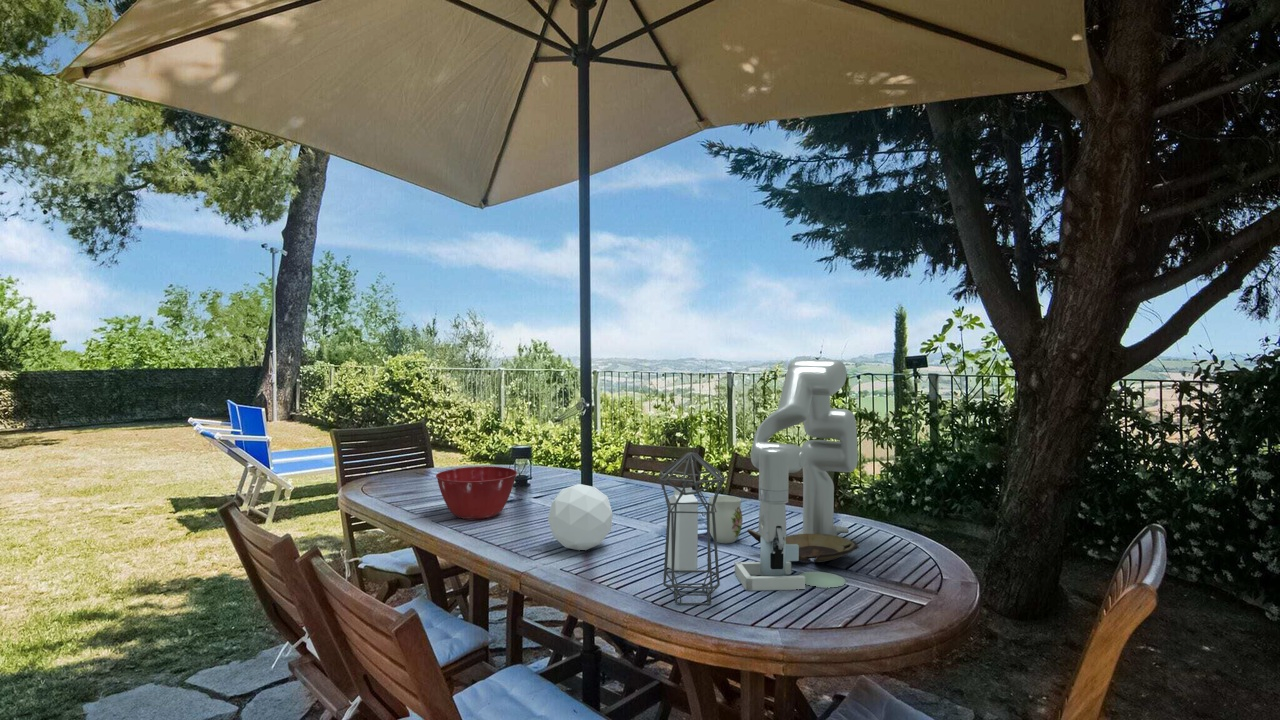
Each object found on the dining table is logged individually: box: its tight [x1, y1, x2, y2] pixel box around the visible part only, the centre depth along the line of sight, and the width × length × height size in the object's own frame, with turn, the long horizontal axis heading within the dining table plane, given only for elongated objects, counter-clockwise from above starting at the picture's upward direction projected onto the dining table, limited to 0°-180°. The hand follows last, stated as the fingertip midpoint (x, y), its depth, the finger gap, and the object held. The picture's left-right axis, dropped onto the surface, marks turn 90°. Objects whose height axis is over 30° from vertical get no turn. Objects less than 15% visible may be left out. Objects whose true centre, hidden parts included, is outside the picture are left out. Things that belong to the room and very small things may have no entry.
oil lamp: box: [746, 528, 860, 563], centre depth 191 cm, size 22×30×8 cm
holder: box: [734, 561, 806, 592], centre depth 170 cm, size 15×13×3 cm
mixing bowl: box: [435, 466, 518, 520], centre depth 237 cm, size 28×28×16 cm
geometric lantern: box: [658, 451, 728, 606], centre depth 158 cm, size 16×16×35 cm
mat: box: [797, 571, 846, 589], centre depth 171 cm, size 12×12×1 cm
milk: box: [667, 487, 699, 574], centre depth 179 cm, size 6×6×22 cm
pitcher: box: [708, 495, 743, 544], centre depth 209 cm, size 11×18×14 cm, turn 148°
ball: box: [547, 483, 614, 551], centre depth 198 cm, size 19×20×20 cm
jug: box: [759, 536, 800, 576], centre depth 170 cm, size 10×6×9 cm, turn 94°
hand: (772, 563), depth 170 cm, fingers closed on jug, 6 cm apart
